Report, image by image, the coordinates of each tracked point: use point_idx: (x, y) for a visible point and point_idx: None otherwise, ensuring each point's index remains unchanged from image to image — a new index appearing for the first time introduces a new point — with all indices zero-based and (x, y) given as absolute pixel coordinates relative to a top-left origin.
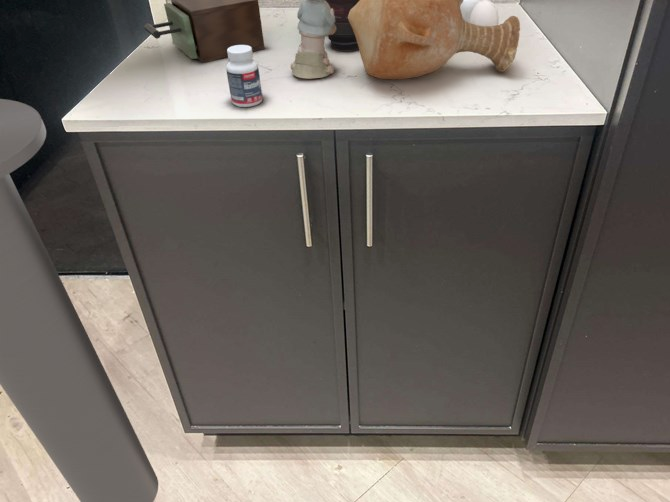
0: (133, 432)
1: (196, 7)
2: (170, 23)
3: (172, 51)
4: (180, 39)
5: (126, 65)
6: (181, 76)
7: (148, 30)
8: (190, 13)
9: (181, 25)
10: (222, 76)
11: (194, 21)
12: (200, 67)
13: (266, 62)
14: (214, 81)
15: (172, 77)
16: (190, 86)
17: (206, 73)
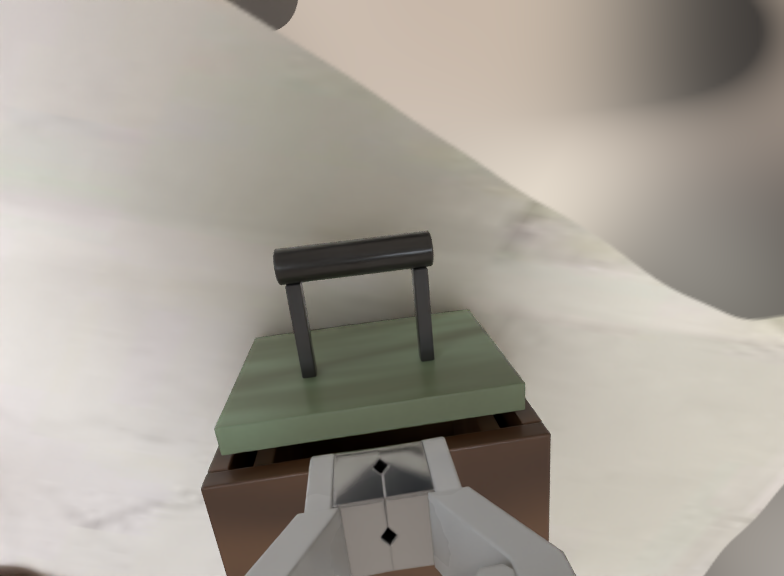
0: (236, 2)
1: (265, 517)
2: (418, 350)
3: (434, 290)
4: (351, 344)
5: (366, 95)
6: (142, 270)
7: (355, 241)
8: (229, 473)
9: (278, 391)
10: (88, 393)
11: (214, 457)
12: (211, 346)
13: (170, 528)
14: (46, 361)
15: (144, 239)
16: (20, 280)
17: (139, 353)
